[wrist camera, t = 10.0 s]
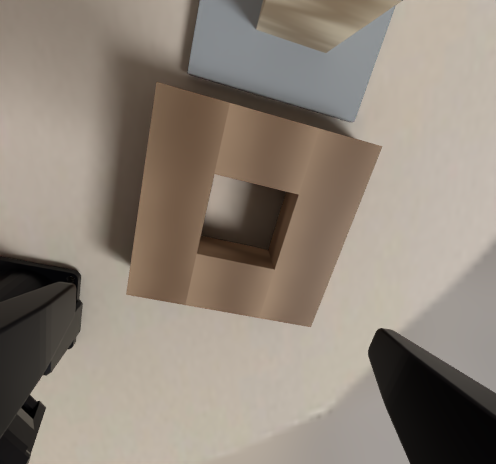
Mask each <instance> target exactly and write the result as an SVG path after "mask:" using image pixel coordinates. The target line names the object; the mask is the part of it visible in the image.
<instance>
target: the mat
mask: <svg viewBox="0 0 496 464" xmlns="http://www.w3.org/2000/svg"><path fill="white" fill-rule="evenodd" d="M262 3H263V0H200V2H199V8H198V14H197V20H196V26H195V32H194V37H193V43H192V49H191V55H190V61H189V67H188V72H187V73H188V74H189V75H192V76H195V77H199V78H202V79H206V80H209V81H212V82H216V83H219V84H223V85H226V86H229V87H233V88H236V89H239V90H243V91H246V92H250V93H253V94H256V95H260V96H263V97H267V98H270V99H273V100H277V101H280V102H284V103H287V104H290V105H294V106H297V107H300V108H304V109H307V110H311V111H314V112H317V113H321V114H324V115H328V116H331V117H334V118H338V119H341V120H344V121H348V122H354V121H355V118H356V116H357V113H358V110H359V107H360V104H361V101H362V99H363V96H364V93H365V90H366V87H367V85H368V82H369V79H370V76H371V73H372V71H373V68H374V65H375V62H376V59H377V57H378V54H379V51H380V48H381V45H382V42H383V40H384V37H385V34H386V31H387V28H388V26H389V23H390V20H391V17H392V14H393V12H394V9H395V6H396V5H395V6H394V7H392V8H391V9H389V10H388V11H387V12H385V13H384V14H382V15H381V16H379V17H378V18H376V19H375V20H373V21H372V22H370V23H369V24H368V25H366V26H365V27H363V28H362V29H360V30H359V31H357V32H356V33H354V34H353V35H352V36H350V37H349V38H347V39H346V40H344V41H343V42H341V43H340V44H338V45H337V46H336V47H334V48H333V49H331V50H330V51H328V52H327V53H324V52H321V51H318V50H315V49H312V48H309V47H306V46H303V45H300V44H297V43H294V42H291V41H288V40H285V39H282V38H279V37H276V36H273V35H270V34H268V33H265V32H262V31H259V30H256V28H257V24H258V20H259V15H260V11H261V7H262Z"/></svg>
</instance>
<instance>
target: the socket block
mask: <svg viewBox="0 0 496 464" xmlns="http://www.w3.org/2000/svg"><path fill="white" fill-rule="evenodd" d="M381 148H382V146H379V145H375V144H372V143H368V142H365V141H361V140H358V139H354V138H351V137H347V136H344V135H341V134H337V133H334V132H330V131H327V130H323V129H320V128H316V127H313V126H309V125H306V124H302V123H299V122H295V121H292V120H288V119H285V118H281V117H278V116H274V115H271V114H267V113H264V112H260V111H257V110H253V109H250V108H246V107H243V106H239V105H236V104H232V103H229V102H225V101H222V100H218V99H215V98H211V97H208V96H204V95H201V94H197V93H194V92H191V91H187V90H184V89H180V88H177V87H173V86H170V85H166V84H163V83H159V82H156V88H155V95H154V103H153V110H152V117H151V124H150V131H149V138H148V145H147V152H146V159H145V166H144V173H143V180H142V187H141V194H140V201H139V208H138V215H137V222H136V229H135V236H134V244H133V251H132V258H131V265H130V272H129V279H128V286H127V293H126V295H132V296H137V297H143V298H149V299H154V300H160V301H166V302H171V303H177V304H183V305H188V306H194V307H200V308H205V309H211V310H217V311H222V312H228V313H234V314H239V315H245V316H251V317H256V318H262V319H268V320H273V321H279V322H285V323H290V324H296V325H302V326H307V327H311V325H312V323H313V320H314V318H315V315H316V313H317V310H318V308H319V305H320V303H321V300H322V298H323V295H324V292H325V290H326V287H327V285H328V282H329V280H330V277H331V275H332V272H333V270H334V267H335V265H336V262H337V260H338V257H339V255H340V252H341V250H342V247H343V244H344V242H345V239H346V237H347V234H348V232H349V229H350V227H351V224H352V222H353V219H354V217H355V214H356V212H357V209H358V207H359V204H360V202H361V199H362V196H363V194H364V191H365V189H366V186H367V184H368V181H369V179H370V176H371V174H372V171H373V169H374V166H375V164H376V161H377V159H378V156H379V154H380V151H381ZM214 174H217V175H221V176H225V177H229V178H233V179H237V180H241V181H245V182H249V183H253V184H257V185H262V186H266V187H270V188H274V189H278V190H282V191H286V193H285V196H284V200H283V203H282V206H281V209H280V213H279V216H278V219H277V223H276V226H275V229H274V232H273V236H272V239H271V242H270V245H269V249H268V250H267V249H262V248H257V247H253V246H248V245H243V244H239V243H234V242H229V241H225V240H220V239H215V238H211V237H206V236H201V232H202V228H203V223H204V219H205V214H206V210H207V205H208V201H209V196H210V192H211V187H212V182H213V178H214Z"/></svg>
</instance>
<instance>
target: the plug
mask: <svg viewBox="0 0 496 464" xmlns="http://www.w3.org/2000/svg"><path fill="white" fill-rule="evenodd" d="M401 1H403V0H263V3H262V7H261V11H260V15H259V20H258V24H257V28H256V30H259V31H262V32H265V33H268V34H270V35H273V36H276V37H279V38H282V39H285V40H288V41H291V42H294V43H297V44H300V45H303V46H306V47H309V48H312V49H315V50H318V51H321V52H324V53H327V52H328V51H330V50H331V49H333V48H334V47H336V46H337V45H338V44H340V43H341V42H343V41H344V40H346V39H347V38H349V37H350V36H352V35H353V34H354V33H356V32H357V31H359V30H360V29H362V28H363V27H365V26H366V25H368V24H369V23H370V22H372V21H373V20H375V19H376V18H378V17H379V16H381V15H382V14H384V13H385V12H387V11H388V10H389V9H391V8H392V7H394V6H395V5H397V4H398V3H400V2H401Z"/></svg>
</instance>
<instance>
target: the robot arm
mask: <svg viewBox="0 0 496 464" xmlns="http://www.w3.org/2000/svg"><path fill="white" fill-rule="evenodd" d="M70 276H72V277H73V278H74V280H73V279H71V278H70ZM80 284H81V275H80V274H79V272H77V271H75V270H71V269H65V268H60V267H54V266H49V265H43V264H38V263H33V262H27V261H22V260H16V259H11V258H5V257H0V464H28V463H29V460H30V456H31V451H32V448H33V445H34V442H35V439H36V436H37V433H38V430H39V427H40V424H41V421H42V418H43V415H44V412H45V409H46V407H45V406H44V405H43V404H42V403H41V402H40V401H36V400H35V399H34V398H33V397H32V396H31V395H30V393H31V392H32V390H33V389H34V387H35V386H36V384H37V383H38V381H39V380H40V378H41V377H42V375H48V374H49V373H51V372H52V371H53V369H54V368H55V366H56V365H57V363H58V362H59V360H60V359H61V358H62V356H63V355H64V353H65V352H66V350H67V349H70V348H72V347H73V345H74V344H75V342H76V336H77V335H78V333H79V332H80V327H81V316H82V302H81V300H79V296H80ZM368 356H369V359H370V362H371V365H372V368H373V371H374V375H375V377H376V381H377V383H378V386H379V390H380V393H381V395H382V398H383V401H384V404H385V406H386V409H387V411H388V414H389V416H390V418H391V421H392V423H393V425H394V428H395V430H396V432H397V434H398V437H399V439H400V441H401V444H402V446H403V448H404V450H405V453H406V455H407V457H408V460H409V462H410V464H496V393H494V392H493V391H491V390H490V389H488V388H486V387H484V386H483V385H481V384H480V383H478V382H476V381H475V380H473V379H472V378H470V377H468V376H467V375H465V374H464V373H462V372H460V371H459V370H457V369H455V368H454V367H452V366H450V365H449V364H447V363H445V362H444V361H442V360H440V359H439V358H437V357H436V356H434V355H432V354H431V353H429V352H428V351H426V350H424V349H423V348H421V347H419V346H418V345H416V344H414V343H413V342H411V341H410V340H408V339H406V338H405V337H403V336H401V335H400V334H398V333H397V332H395V331H393V330H390V329H383V328H380V329H378V330H377V331H376V333H375V335H374V338H373V340H372V342H371V344H370V347H369V350H368Z"/></svg>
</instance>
